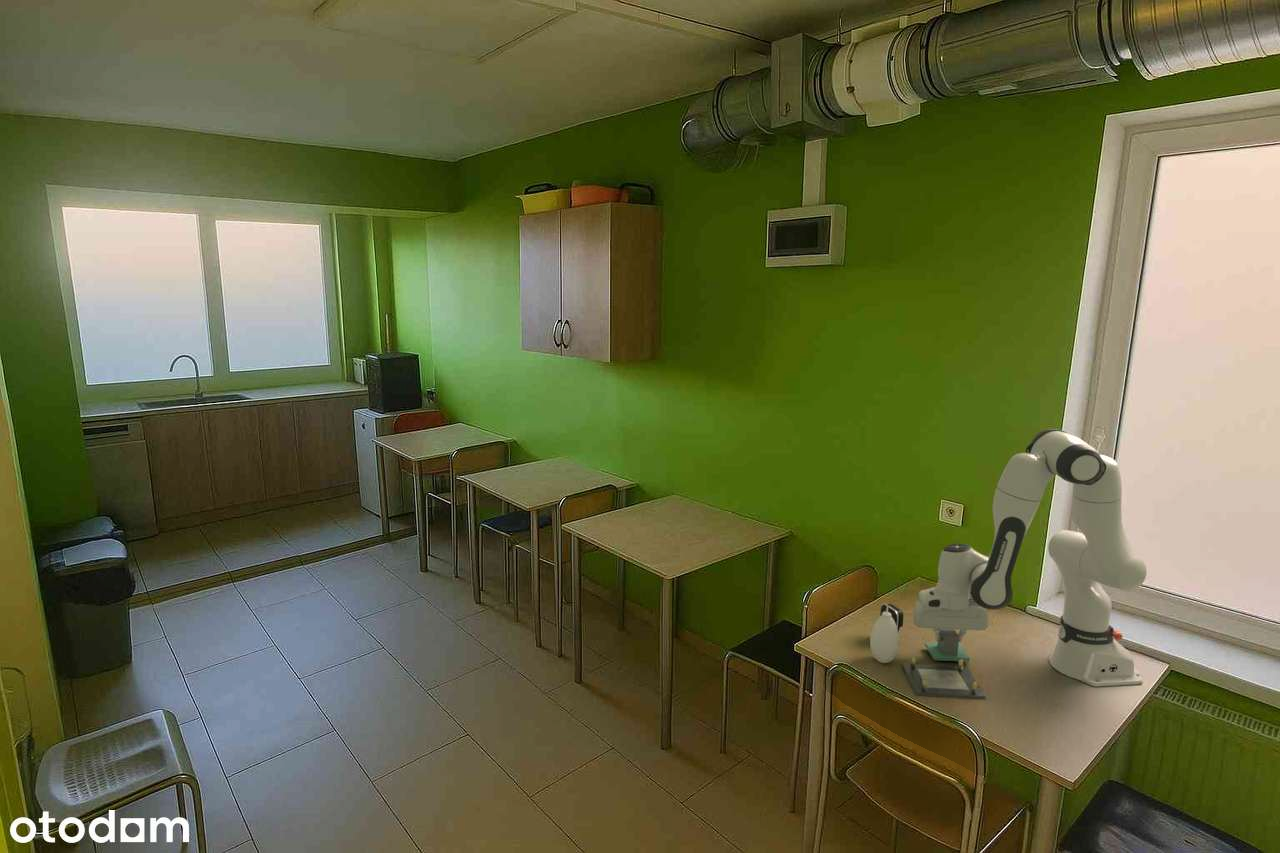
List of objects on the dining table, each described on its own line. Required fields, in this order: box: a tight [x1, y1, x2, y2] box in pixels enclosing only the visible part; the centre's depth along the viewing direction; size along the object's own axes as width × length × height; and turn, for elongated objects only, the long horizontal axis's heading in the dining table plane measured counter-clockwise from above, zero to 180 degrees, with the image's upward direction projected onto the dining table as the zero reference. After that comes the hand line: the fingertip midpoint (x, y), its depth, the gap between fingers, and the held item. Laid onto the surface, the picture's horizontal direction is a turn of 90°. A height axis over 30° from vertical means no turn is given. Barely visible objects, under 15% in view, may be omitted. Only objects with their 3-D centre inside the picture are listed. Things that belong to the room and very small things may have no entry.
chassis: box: [901, 655, 987, 700], centre depth 193 cm, size 18×14×4 cm
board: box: [924, 628, 971, 662], centre depth 205 cm, size 10×8×7 cm
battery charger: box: [879, 603, 904, 633], centre depth 214 cm, size 7×4×11 cm, turn 21°
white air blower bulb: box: [869, 605, 900, 664], centre depth 202 cm, size 8×8×18 cm
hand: (948, 640), depth 205 cm, fingers closed on board, 4 cm apart
